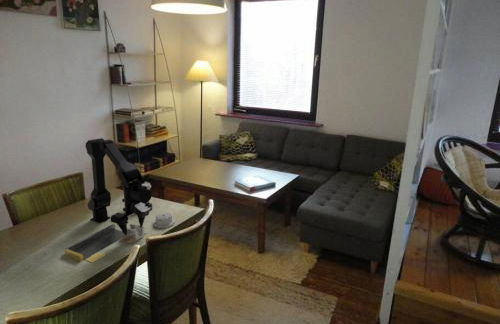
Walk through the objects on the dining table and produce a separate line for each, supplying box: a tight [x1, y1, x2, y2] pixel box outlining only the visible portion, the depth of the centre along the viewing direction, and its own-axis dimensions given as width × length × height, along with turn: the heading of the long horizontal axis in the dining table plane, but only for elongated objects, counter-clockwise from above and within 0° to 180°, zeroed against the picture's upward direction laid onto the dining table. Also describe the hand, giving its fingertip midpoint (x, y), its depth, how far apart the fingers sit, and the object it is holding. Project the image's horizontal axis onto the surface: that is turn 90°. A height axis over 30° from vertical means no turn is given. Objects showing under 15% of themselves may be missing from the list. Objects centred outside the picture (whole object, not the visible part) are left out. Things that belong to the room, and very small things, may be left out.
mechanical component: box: [153, 212, 176, 229], centre depth 166 cm, size 10×4×10 cm
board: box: [120, 232, 148, 244], centre depth 153 cm, size 6×10×1 cm, turn 153°
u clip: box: [124, 222, 145, 242], centre depth 152 cm, size 7×5×4 cm
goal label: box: [85, 252, 106, 264], centre depth 137 cm, size 4×6×1 cm, turn 153°
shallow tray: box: [63, 223, 125, 263], centre depth 147 cm, size 10×25×2 cm, turn 153°
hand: (133, 230), depth 152 cm, fingers open, 9 cm apart
